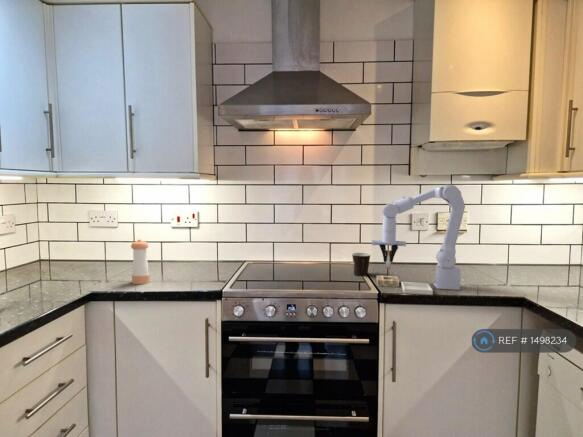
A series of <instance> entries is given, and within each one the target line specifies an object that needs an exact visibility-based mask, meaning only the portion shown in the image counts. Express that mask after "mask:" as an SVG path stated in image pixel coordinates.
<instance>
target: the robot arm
mask: <svg viewBox="0 0 583 437" xmlns="http://www.w3.org/2000/svg"><path fill="white" fill-rule="evenodd" d="M433 198H437V199H443V200H444V201H445V202H446V203H447V204H448V205H449V207H450V212H449V217H448V221H447V226H446V229H445V234H444V237H443V241H442V243H441V246H440V248H439V250H438V251H437V253H436V255H435V256H436V257H435V258H436V261H437V264H436V268H435V271H436V273H435V282H433V286H434V287H435V288H436V289H437V290H439V289H440V290H455V291H457V290H458V291H460V290H461V275H462V274H461V269H460V267H458V266H456V267H455V264H456V262H457V259H456V246H457V240H458V236H459V233H460V228H461V225H462V220H463V216H464V213H465V208H466V203H465V202H464V199H463V196H462V192H461V190H460V188H458V187H457V186H456V185H454V184H443V185H441V186H437V187H433V188H431V189H428V190H426V191H424V192H421V193H419V194H417V195H414V196H412V197H411V196H408V195H407V196H405V195H403V196H402V197H401V198H400V199H397V200H396V201H394V200H392V201H391V203H387V204H386V205H384V206H383V208H382V210H381V211H382V215H383V216H382V232H381V233H382V237H381V238H382V239H381V240H379V239H378V240H375V239H373V240H371V246H379V248H380V250H381V253H382V258H383V263H385V262H386V250H387V247H386V246H388V247H389V246H390V247H391V249H390V250H391V263H393V262H394V259H395V258H394V257H395V255H396V253H397V251H398V249H399V247H406V246H407V241H402V240H396V237H397V235H396V234H397V221H396V220H397V214H398V215H400V214H402V213H403V214H404V213H405V212H407V211H410V210H412V209H414V207H415V205H417V204H419V203H422V202H425V201H427V200H431V199H433Z"/></svg>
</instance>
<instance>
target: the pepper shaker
mask: <svg viewBox="0 0 583 437" xmlns="http://www.w3.org/2000/svg"><path fill="white" fill-rule="evenodd" d="M148 247H149V244H148V242H147V241H145V240H144V241H143V240H142V239H140V238H139V239H137V241H136V240H135V241H134V242H132V243H131V245H130V248H131V249H132V250H133V251H132V252H133V255H132V256H133V257H132V258H133V261H132V268H131V270H132V275H131V284H133V285H144V284H148V283H150V282H151V281H150V280H151V279H150V278H151V277H150V273H149V263H148V262H149V261H148V255H147V253H148V252H147V249H148Z"/></svg>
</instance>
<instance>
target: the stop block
mask: <svg viewBox="0 0 583 437" xmlns="http://www.w3.org/2000/svg"><path fill="white" fill-rule="evenodd" d="M376 285H377V286H378V287H392V288H393V287H394V288H399V287H400V280H399V278H398V276H395V275H381V274H379V275H376Z"/></svg>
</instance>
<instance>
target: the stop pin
mask: <svg viewBox="0 0 583 437" xmlns="http://www.w3.org/2000/svg"><path fill="white" fill-rule="evenodd" d="M385 256H386V262H384V266H385V267H384V268H385V269H386V270H390V269H392V268H391V267H392V262H391V249H388V250H387V249H386V254H385Z"/></svg>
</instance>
